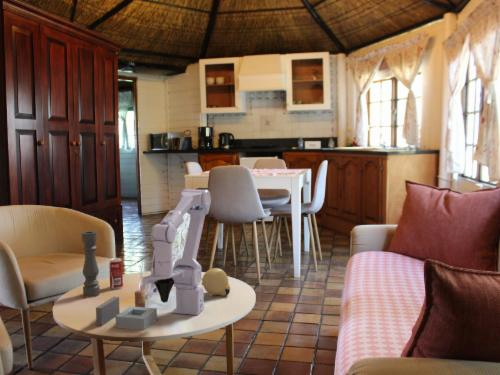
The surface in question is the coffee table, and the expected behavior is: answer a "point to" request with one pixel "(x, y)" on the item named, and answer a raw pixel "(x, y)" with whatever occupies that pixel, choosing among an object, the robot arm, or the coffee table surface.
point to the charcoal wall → (107, 311)
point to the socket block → (136, 318)
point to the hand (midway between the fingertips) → (164, 301)
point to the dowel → (140, 298)
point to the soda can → (116, 273)
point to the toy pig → (216, 282)
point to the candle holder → (90, 265)
